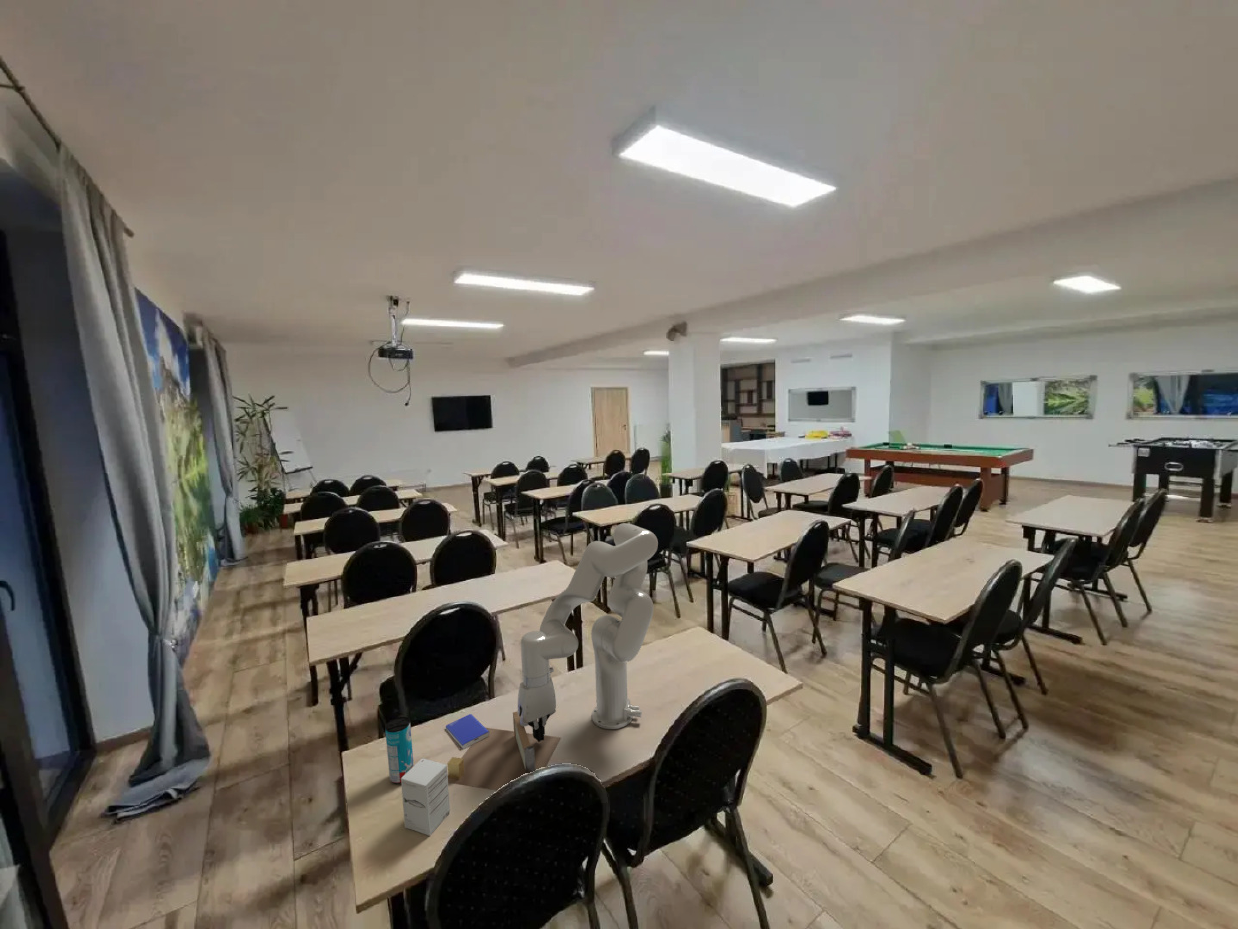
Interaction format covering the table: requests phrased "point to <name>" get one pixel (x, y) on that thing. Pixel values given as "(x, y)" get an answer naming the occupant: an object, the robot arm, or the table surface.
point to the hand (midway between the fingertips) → (539, 738)
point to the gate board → (501, 759)
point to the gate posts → (458, 764)
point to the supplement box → (425, 796)
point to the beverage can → (399, 748)
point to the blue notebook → (467, 731)
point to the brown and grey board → (520, 735)
